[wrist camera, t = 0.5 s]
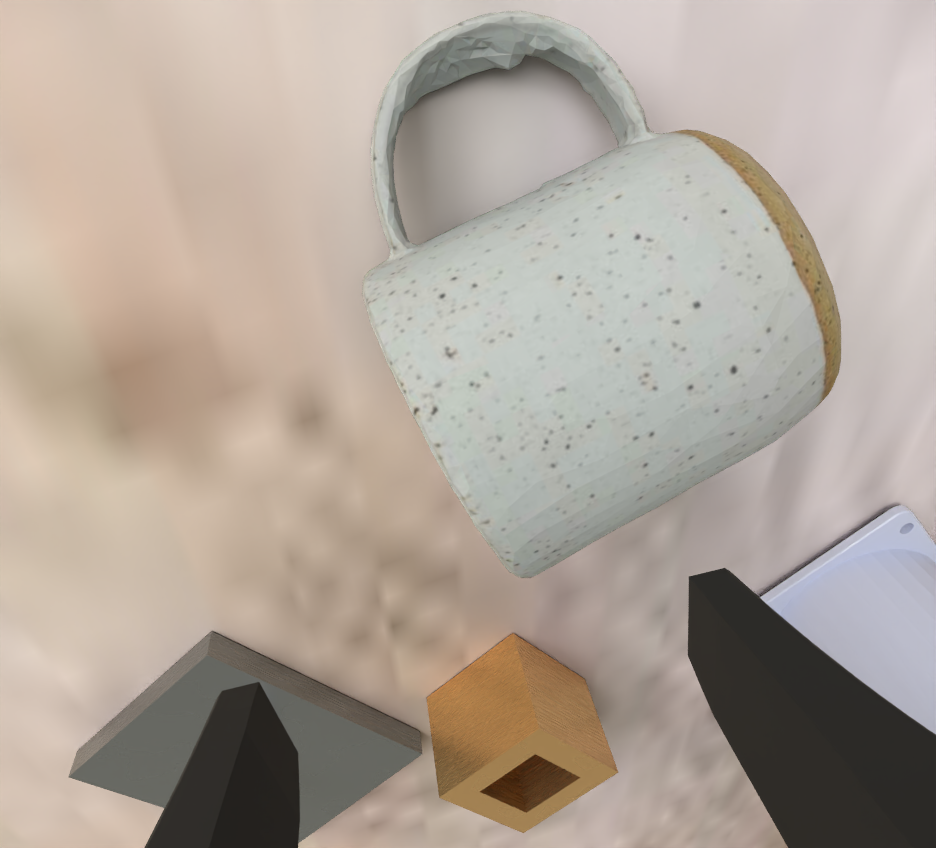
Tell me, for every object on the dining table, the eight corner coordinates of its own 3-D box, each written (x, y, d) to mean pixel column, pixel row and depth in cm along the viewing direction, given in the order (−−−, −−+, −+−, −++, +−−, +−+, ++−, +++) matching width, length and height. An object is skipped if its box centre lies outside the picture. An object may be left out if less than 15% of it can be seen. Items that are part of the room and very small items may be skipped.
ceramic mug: (725, 327, 20) (907, 480, 14) (479, 454, 21) (541, 653, 15) (600, -70, 15) (808, -132, 8) (275, 127, 15) (226, 213, 9)
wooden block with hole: (584, 678, 28) (618, 772, 25) (502, 736, 29) (523, 833, 26) (512, 632, 26) (538, 728, 22) (426, 697, 27) (439, 797, 24)
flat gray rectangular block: (419, 731, 28) (431, 831, 25) (292, 824, 30) (286, 928, 27) (211, 631, 23) (190, 738, 20) (77, 751, 25) (38, 866, 22)
